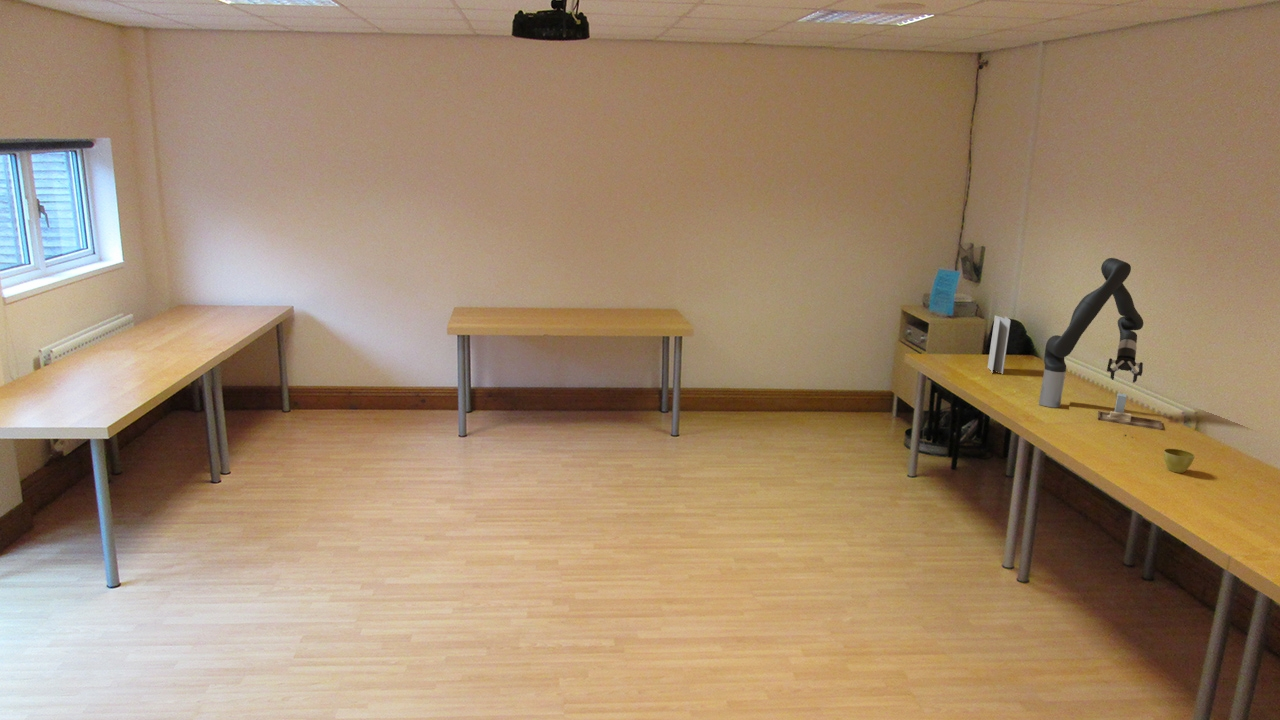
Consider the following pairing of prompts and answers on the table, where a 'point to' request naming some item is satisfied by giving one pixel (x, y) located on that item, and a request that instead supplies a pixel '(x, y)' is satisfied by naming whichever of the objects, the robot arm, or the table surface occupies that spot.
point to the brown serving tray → (1133, 421)
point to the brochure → (999, 344)
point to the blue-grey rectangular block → (1120, 403)
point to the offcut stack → (1119, 416)
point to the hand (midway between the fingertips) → (1123, 380)
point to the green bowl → (1178, 460)
